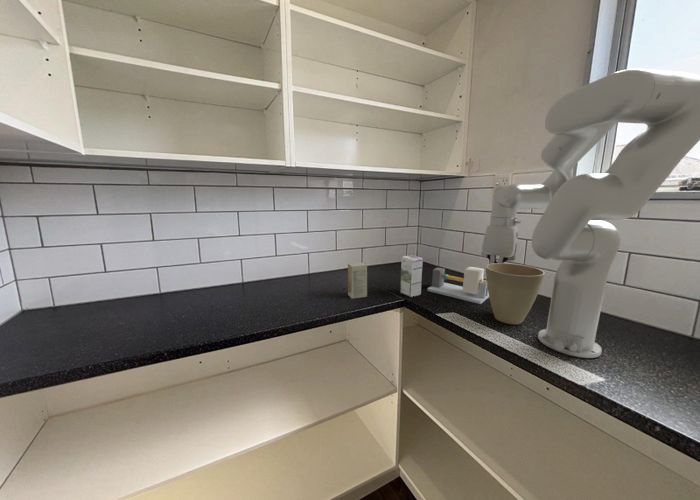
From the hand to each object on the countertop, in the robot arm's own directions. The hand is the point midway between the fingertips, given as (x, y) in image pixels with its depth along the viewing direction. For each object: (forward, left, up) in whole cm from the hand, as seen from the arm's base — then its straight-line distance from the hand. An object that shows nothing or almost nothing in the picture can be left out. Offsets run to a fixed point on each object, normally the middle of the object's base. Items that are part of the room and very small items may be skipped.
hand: (495, 274), depth 97 cm
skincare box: (-30, +38, -10) cm, 50 cm away
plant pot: (-13, -8, -10) cm, 19 cm away
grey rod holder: (0, +12, -10) cm, 16 cm away
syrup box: (-14, +25, -10) cm, 31 cm away
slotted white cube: (0, +7, -8) cm, 11 cm away
